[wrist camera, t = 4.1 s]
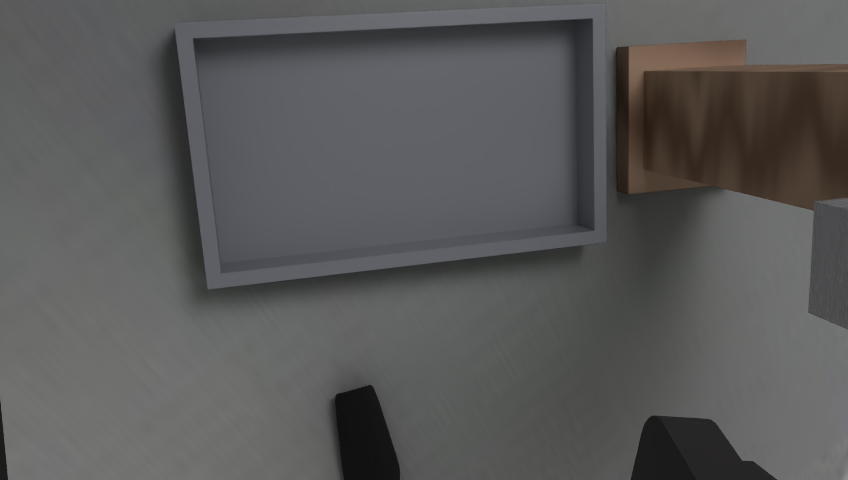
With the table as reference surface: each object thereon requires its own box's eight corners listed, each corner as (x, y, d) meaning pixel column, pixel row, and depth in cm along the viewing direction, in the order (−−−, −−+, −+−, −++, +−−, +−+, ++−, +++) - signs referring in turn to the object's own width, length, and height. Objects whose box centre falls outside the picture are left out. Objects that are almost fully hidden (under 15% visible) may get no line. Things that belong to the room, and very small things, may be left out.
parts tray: (177, 25, 42) (174, 22, 39) (583, 7, 47) (605, 3, 44) (209, 275, 45) (207, 289, 42) (585, 232, 50) (606, 242, 48)
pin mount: (556, 42, 47) (1143, -6, 17) (731, 32, 50) (1513, -25, 20) (559, 204, 50) (1081, 419, 19) (727, 186, 52) (1419, 350, 22)
